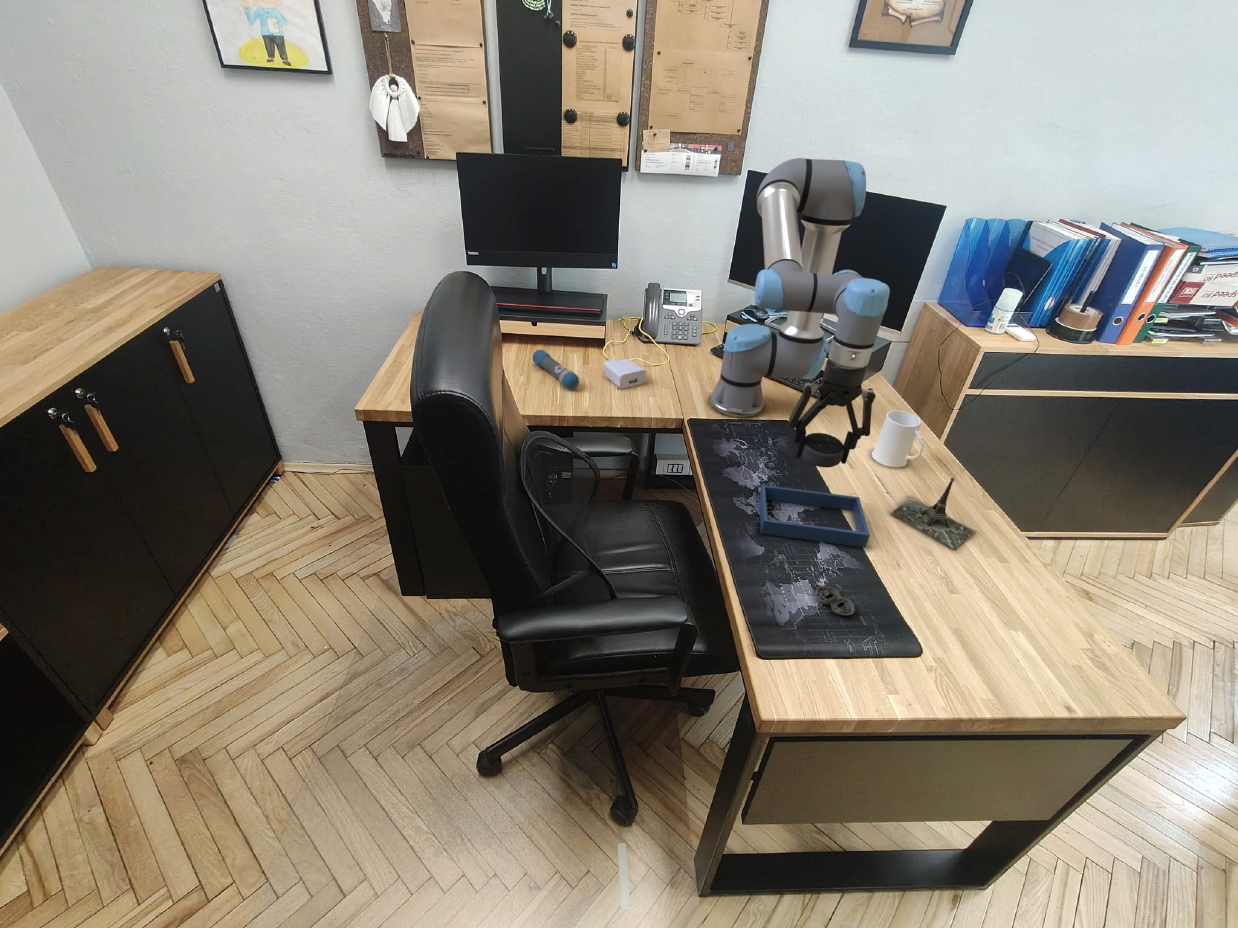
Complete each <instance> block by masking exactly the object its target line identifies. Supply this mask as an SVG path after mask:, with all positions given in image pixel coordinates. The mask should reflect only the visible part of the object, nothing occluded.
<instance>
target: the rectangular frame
mask: <svg viewBox="0 0 1238 928" xmlns="http://www.w3.org/2000/svg"><path fill="white" fill-rule="evenodd" d="M767 500H768V501H775V502H781V503H789V504H798V505H806V506H813V507H821V508H828V509H837V510H844V511H851V512H852V516H853V520H854V524H855V527H856V530H852V529H851V530H850V529H844V528H837V527H828V526H823V525H822V526H821V525H815V524H806V523H798V522H791V521H784V520H776V519H768V505H767ZM758 502H759V503H758V507H759V520H760V521H759V522H760V523H759V524H760V534H762V535H770V536H776V537H777V536H778V537H784V538H792V539H799V540H806V541H812V542H813V541H814V542H822V543H827V544H835V545H842V546H850V547H857V548H866V547H867V544H868V542H869V539H870V536H871V534H870V531H869V528H868V523H867V520H866V516H865V513H864V510H863V509H864V508H863V506H862V503H861V499H860V497H859V496H853V495H845V494H838V493H830V492H821V491H815V490H814V491H813V490H806V489H798V488H790V487H784V486H783V487H782V486H774V485H768V484H766V485H765V484H761V486H760V489H759V494H758Z"/></svg>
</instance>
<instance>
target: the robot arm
mask: <svg viewBox="0 0 1238 928" xmlns="http://www.w3.org/2000/svg"><path fill="white" fill-rule="evenodd" d="M866 194H867V175H866V170H865V168H864V166H863V165H862V163H860V162H856V161H850V160H845V159H823V158H822V159H821V158H820V159H819V158H804V157H795V158H790V159H788V160H785V161H783V162H781V163H779V164H777V165H776V166H775V167H774V168H772V170H770V171H769V172H768V173H767V174H766V176H765V177H764V178H763V179H762V182H761V183H760V185H759V187H758V190H757V193H756V209H757V212H758V214H759V216H760V217H761V222H762V223H761V224H762V241H763V244H762V245H763V259H764V261H763V262H764V269H761V270H760V271H759V272H758V273H757V275H756V280H755V286H754V297H753V299H754V300H753V301H754V304H755V306H756V307H757V308H760V309H767V310H772V311H785V312H788V313H787V317H786V321H784V323H782V324H781V325H779V328H778V333H773V332H772V329H771V328H770V327H768V326H766V325H761V324H759V323H747V324H746V323H745V324H740V325H737V326H735V327H732V328H731V329H730V330H729V331H728V333H727V334H726V338H725V342H724V345H723V349H724V350H723V356H722V363H721V369H720V375H719V379H718V381H717V382H716V384H715V386H714V388H713V390H712V392H711V394H710V398H709V404H710V407H712V408H713V409H714V410H715V411H716V412H718V413H720V414H722V415H725V416H729V417H733V418H751V417H755V416H757V415H759V414H760V413H762V411H763V408H764V395H763V389H762V381H763V377H776V378H786V379H795V380H812V379H814V378H816V377H817V376H818V375H819V373H820V372H821V370H822V369H823V366H824V364H825V366H824V370H823V374H822V377H821V380H819V382H818V383H811V382H810V381H805V382H804V383H803V390H802V393H801V395H800V397H799V399H798V401H797V402H796V403H795V406H794V408H793V410H792V412H791V413H790V416H789V418H788V424H789V428H794V434H793V441H794V443H795V444H796V446H795V450H794V453H795V459H801V451H802V447H803V443H804V440H805V436H807V427H808V426H809V425H810V424H811V422H812V421H813V420H814V419H815V418H816V417H817V416H818V415H819V414H820V412H821V411H822V410H825V409H826V408H827V407H828V406H831V407H833V406H837V407H841V408H844V407H845V409H846V412H847V416H848V420H849V424H850V427H851V430H852V431H851V430H848V431H847V432H846V436H845V439H844V443H843V445H844V448H845V451H844V454H843V457H842V460H841V462H840V463H841V464H843V465H846V463H847V460H848V458H849V454H850V450H853V451H855V449H856V447H857V444H858V442H859V440H861V438H862V436H864V437H869V436H870V435H871V426H872V425H871V424H872V410H873V409H872V408H873V403H874V401H875V399H876V397H877V396H876V393H875V390H874V389H873V387H869V388H867V389H866V388H862V387H863V386H862V385H863V382H864V379H865V376H866V372H867V370H868V368H867V366H868V365H869V362H870V360H871V355H872V352H873V349H874V346H875V343H876V340H877V336H878V334H879V331H880V328H881V325H882V322H883V318H884V315H885V313H886V311H887V308H888V305H889V304H888V303H889V297H890V294H891V290H890V287H889V286H888V284H886V283H884V282H882V281H880V280H877V279H874V278H868V277H867V278H866V277H863V276H862V275H860V274H859V273H858V272H857V271H855V270H851V269H842V270H839V271H838V272H835V273H834V274H833V270H834V267H835V262H836V257H837V254H838V250H839V245H840V241H841V237H842V233H843V231H845V230H846V229H847V228H849V227H850V226H851V223H852V219H853V218H857V217H859V216H860V215H861V213H862V211H863V209H864V205H865V201H866ZM798 214H801V217H800V221H801V223H802V225H803V226H804V227H805V230H804V234H803V235H804V236H803V241H802V244H801V239H800V231H799V221H798ZM823 314H826V315H827V314H829V315H835V316H836V317H837V322H836V325H835V328H834V329H835V330H834V333H833V336H832V341H831V344H830V348H829V352H828V358H827V351H828V345H829V342H828V340H827V338H826V337H825V336H824V334H825V332H824V330H823V329H822V328H821V321H822V317H823ZM826 358H827V359H826ZM825 361H826V363H825ZM816 391H818V392H819V394H820V395H819V396H818V397H817V398H816V400H815V401H814V402H813V403H812V405H811V406H810V407H809V408H808V409H807V410H806V411H805V412H804V410H805V409H806V408H807V405H808V403H809V402H810V399H811V396H813V395H814V394H815V393H816ZM860 396H861V398H862V416H861V417H862V418H861V427H859V425H858V420H857V416H856V414H855V409H854V405H853V402H854V401H855V400H856V399H857V398H859V397H860Z"/></svg>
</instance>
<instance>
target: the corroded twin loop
mask: <svg viewBox="0 0 1238 928" xmlns="http://www.w3.org/2000/svg"><path fill="white" fill-rule="evenodd" d="M815 595H816V597H817V601H818V602H819V603H821V604H822V605H826V606H830V607H831V611H832V612H833V613H834V614H835V615H839V616H842V617H848V616H851V615H853V614H855V611H856V608H855V604H854V602H853V601H851V599H849V598H846V597H843V596H842V595H841V593H840V591H839V589H837V588H836V587H833V586H829V585H818V586H816V588H815ZM829 595H831V597H829V598H826V597H827V596H829ZM839 604H843V605H842V606H840V607H839Z"/></svg>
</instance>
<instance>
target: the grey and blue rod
mask: <svg viewBox="0 0 1238 928" xmlns="http://www.w3.org/2000/svg"><path fill="white" fill-rule="evenodd" d="M532 362H533V363H534V364H535V365H536V366H537V367H538V368H541V369H543V370H545V372H547V373H548V374H550V375H551V376H552V377H554V378H555V379H556V380H558V382H559V383H560V385H562V387H564V388H566V389H568V390H574V389H576V388H578V386H579V384H580V378H579V376H578V375H577V374H576V373H575V372H574V371H573V370H571V369H567V368H565V366H563V365H561V363H559V362H558V361H557V360H556V359H554V358H553V357H552V356H551V354H549V353H548V352H547V351H545V350H544V349H536V351H534V352H533V354H532Z"/></svg>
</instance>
